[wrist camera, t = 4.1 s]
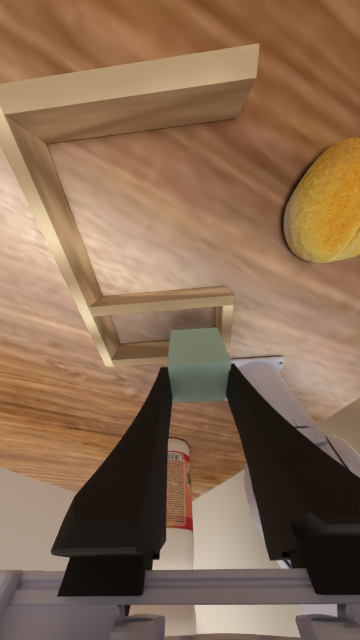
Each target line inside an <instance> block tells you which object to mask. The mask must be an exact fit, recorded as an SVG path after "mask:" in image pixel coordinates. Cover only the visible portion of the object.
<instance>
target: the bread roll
mask: <svg viewBox="0 0 360 640" xmlns="http://www.w3.org/2000/svg"><path fill="white" fill-rule="evenodd" d="M283 229H284V234H285V238H286V241H287V244H288V246H289V248H290V249H291V250H292V252H293V253H294V254H295V255H296V256H298V257H300V258H302V259H304V260H307V261H310V262H314V263H328V262H332V261H338V260H343V259H347V258H351V257H354V256H358V255H360V137H352V138H349V139H345V140H341V141H339V142H337V143H336V144H334V145H333V146H331V147H329V148H328V149H327V150H326V151H325V152H323V153H322V154H321V155H320V156H319V157H318V158H317V160H316V161H315V162H314V163H313V164H312V166H311V167H310V168H309V169H308V171H307V172H306V174H305V175H304V176H303V178H302V179H301V181H300V182H299V184H298V186H297V187H296V189H295V191H294V192H293V194H292V196H291V198H290V200H289V202H288V203H287V206H286V209H285V214H284V228H283Z"/></svg>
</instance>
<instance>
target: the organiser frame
mask: <svg viewBox="0 0 360 640" xmlns="http://www.w3.org/2000/svg"><path fill="white" fill-rule="evenodd" d="M259 44H260V43H259ZM259 44H253V45H246V46H240V47H233V48H227V49H221V50H214V51H208V52H201V53H195V54H189V55H182V56H176V57H169V58H163V59H157V60H150V61H144V62H137V63H131V64H125V65H118V66H112V67H105V68H99V69H93V70H86V71H80V72H73V73H67V74H60V75H54V76H48V77H41V78H35V79H28V80H22V81H16V82H9V83H3V84H0V145H1V147H2V149H3V151H4V153H5V155H6V157H7V160H8V162H9V164H10V166H11V168H12V170H13V172H14V174H15V176H16V179H17V181H18V183H19V185H20V187H21V189H22V191H23V193H24V195H25V197H26V200H27V202H28V204H29V206H30V208H31V210H32V212H33V214H34V216H35V218H36V221H37V223H38V225H39V227H40V229H41V231H42V233H43V235H44V237H45V239H46V242H47V244H48V246H49V248H50V250H51V252H52V254H53V256H54V258H55V260H56V263H57V265H58V267H59V269H60V271H61V273H62V275H63V277H64V279H65V281H66V284H67V286H68V288H69V290H70V292H71V294H72V296H73V298H74V300H75V302H76V305H77V307H78V309H79V311H80V313H81V315H82V317H83V319H84V321H85V323H86V326H87V328H88V330H89V332H90V334H91V336H92V338H93V340H94V342H95V344H96V347H97V349H98V351H99V353H100V355H101V357H102V359H103V361H104V363H105V366H106V367H110V366H125V365H140V364H156V363H168V354H169V343H170V341H161V342H147V343H133V344H120V342H119V340H118V337H117V334H116V332H115V329H114V326H113V324H112V321H111V318H110V315H118V314H130V313H143V312H155V311H167V310H180V309H192V308H204V307H216V318H215V327H217V328H218V331H219V333H220V336H221V338H222V340H223V343H224V345H225V347H226V350H227V352H228V355H229V346H230V336H231V326H232V316H233V306H234V296H235V295H234V294H233V293H232V292H231V291H230V290H229V289H228V288H227V287H226V286H218V287H207V288H195V289H184V290H172V291H161V292H149V293H138V294H127V295H115V296H104V297H103V296H102V294H101V291H100V288H99V286H98V283H97V280H96V278H95V275H94V272H93V269H92V267H91V264H90V261H89V259H88V256H87V253H86V250H85V248H84V245H83V242H82V240H81V237H80V234H79V232H78V229H77V226H76V223H75V221H74V218H73V215H72V213H71V210H70V207H69V205H68V202H67V199H66V196H65V194H64V191H63V188H62V186H61V183H60V180H59V177H58V175H57V172H56V169H55V167H54V164H53V161H52V159H51V156H50V153H49V150H48V148H47V145H46V144H51V143H58V142H65V141H73V140H80V139H87V138H95V137H102V136H110V135H117V134H124V133H132V132H139V131H147V130H154V129H161V128H169V127H176V126H183V125H191V124H198V123H206V122H213V121H220V120H228V119H235V118H237V117H238V115H239V113H240V110H241V108H242V106H243V104H244V102H245V100H246V98H247V96H248V94H249V92H250V90H251V88H252V85H253V83H254V81H255V79H256V75H257V65H258V55H259Z"/></svg>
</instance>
